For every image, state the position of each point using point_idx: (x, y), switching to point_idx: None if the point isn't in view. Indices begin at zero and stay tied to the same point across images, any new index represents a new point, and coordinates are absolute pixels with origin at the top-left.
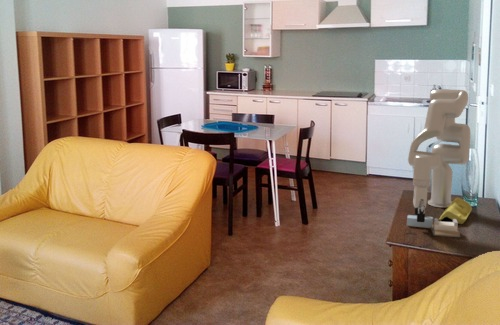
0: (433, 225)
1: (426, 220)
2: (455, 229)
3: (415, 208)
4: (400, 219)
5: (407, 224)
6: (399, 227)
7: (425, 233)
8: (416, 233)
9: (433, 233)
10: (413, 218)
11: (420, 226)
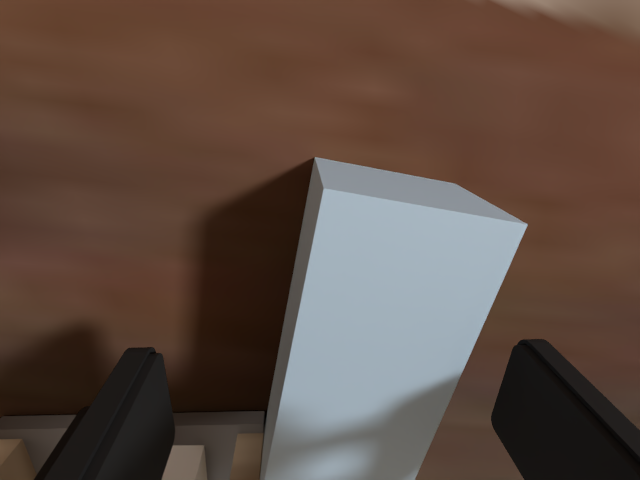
0: (234, 468)
1: (268, 457)
2: None
3: (625, 464)
4: (604, 89)
5: (314, 170)
6: (205, 16)
7: (55, 351)
8: (5, 253)
9: (28, 431)
10: (298, 305)
11: (283, 326)
